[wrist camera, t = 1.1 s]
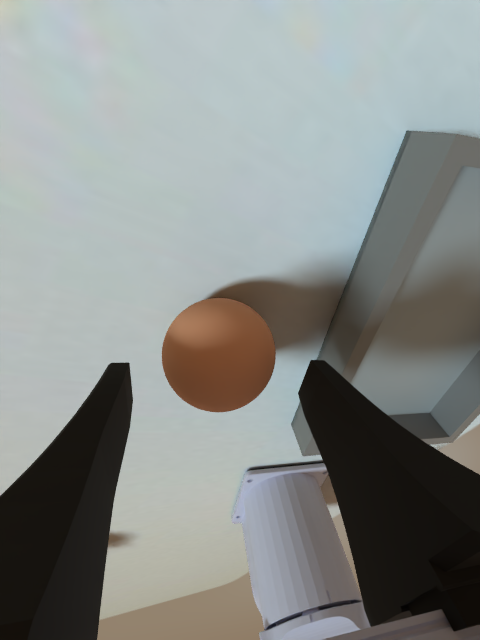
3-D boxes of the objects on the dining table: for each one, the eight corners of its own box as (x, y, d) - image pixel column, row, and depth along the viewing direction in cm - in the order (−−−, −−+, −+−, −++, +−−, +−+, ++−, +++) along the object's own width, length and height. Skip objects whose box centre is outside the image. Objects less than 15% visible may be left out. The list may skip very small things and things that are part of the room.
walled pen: (429, 415, 24) (452, 442, 22) (291, 424, 22) (302, 456, 20) (624, 173, 14) (698, 183, 12) (406, 130, 11) (456, 134, 9)
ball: (252, 357, 17) (275, 432, 13) (164, 357, 16) (159, 440, 12) (269, 280, 14) (305, 347, 10) (164, 275, 13) (157, 347, 9)
